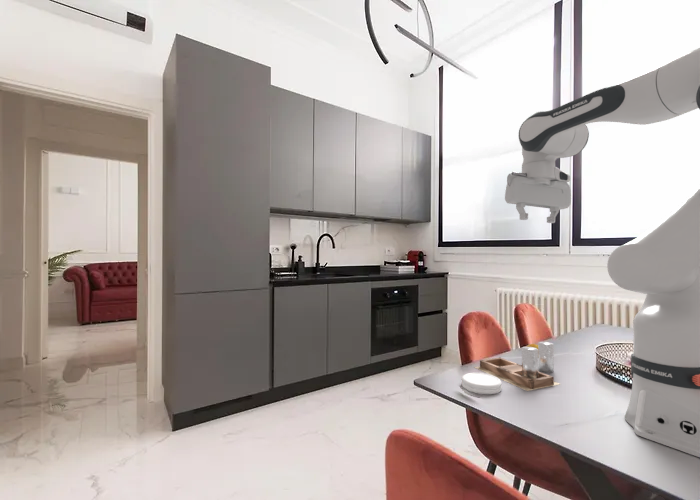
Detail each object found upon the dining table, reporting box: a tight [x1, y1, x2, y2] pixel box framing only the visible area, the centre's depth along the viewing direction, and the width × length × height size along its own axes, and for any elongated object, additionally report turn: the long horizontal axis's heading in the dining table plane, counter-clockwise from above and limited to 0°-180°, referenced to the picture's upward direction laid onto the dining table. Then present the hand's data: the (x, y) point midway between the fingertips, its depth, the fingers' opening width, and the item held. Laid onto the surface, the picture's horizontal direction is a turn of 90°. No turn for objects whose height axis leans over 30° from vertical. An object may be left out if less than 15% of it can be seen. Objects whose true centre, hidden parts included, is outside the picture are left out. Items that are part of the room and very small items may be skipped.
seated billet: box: [521, 346, 539, 379], centre depth 97 cm, size 4×4×9 cm
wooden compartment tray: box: [473, 356, 561, 392], centre depth 102 cm, size 20×12×3 cm, turn 21°
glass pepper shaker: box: [537, 341, 555, 374], centre depth 106 cm, size 4×4×9 cm
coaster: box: [461, 372, 503, 399], centre depth 93 cm, size 10×10×4 cm
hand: (537, 221), depth 103 cm, fingers open, 8 cm apart
